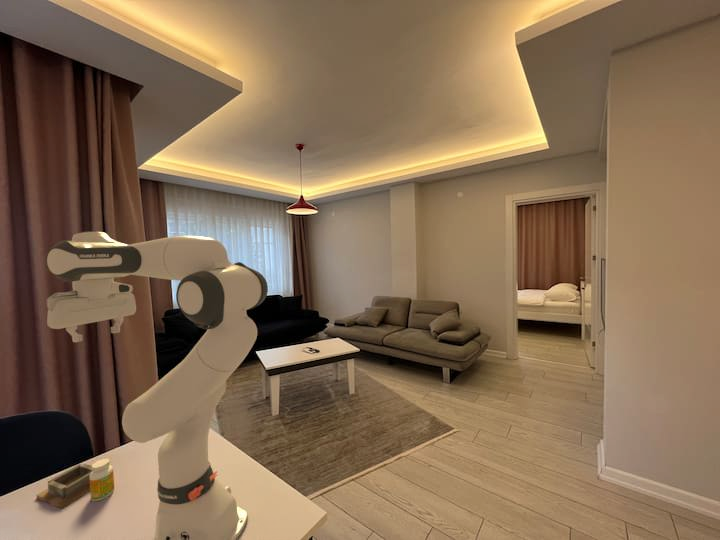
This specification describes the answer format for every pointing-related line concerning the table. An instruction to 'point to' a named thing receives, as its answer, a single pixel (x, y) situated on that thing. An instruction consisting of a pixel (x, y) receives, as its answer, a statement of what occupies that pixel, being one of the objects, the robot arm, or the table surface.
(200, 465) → the robot arm
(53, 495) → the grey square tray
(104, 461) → the supplement bottle
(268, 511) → the table surface
